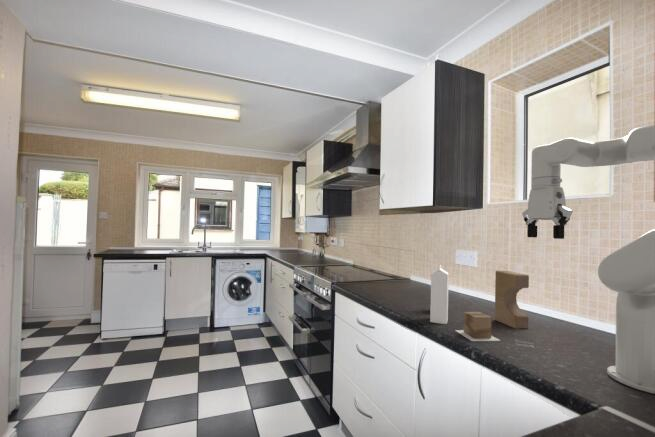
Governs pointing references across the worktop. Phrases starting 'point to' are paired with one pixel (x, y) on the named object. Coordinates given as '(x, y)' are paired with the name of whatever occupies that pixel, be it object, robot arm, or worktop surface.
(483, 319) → the walnut block
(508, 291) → the decorative block
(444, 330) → the worktop surface
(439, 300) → the milk
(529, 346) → the tile
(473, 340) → the grey mat
